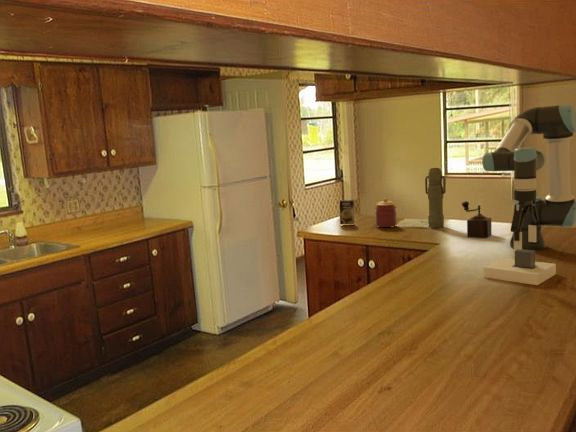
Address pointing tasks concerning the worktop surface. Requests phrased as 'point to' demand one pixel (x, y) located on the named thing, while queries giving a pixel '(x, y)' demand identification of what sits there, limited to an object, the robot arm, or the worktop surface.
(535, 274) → the socket plate
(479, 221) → the manual coffee grinder
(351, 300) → the worktop surface
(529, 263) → the plug
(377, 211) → the canister
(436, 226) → the thermos
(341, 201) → the coffee box
